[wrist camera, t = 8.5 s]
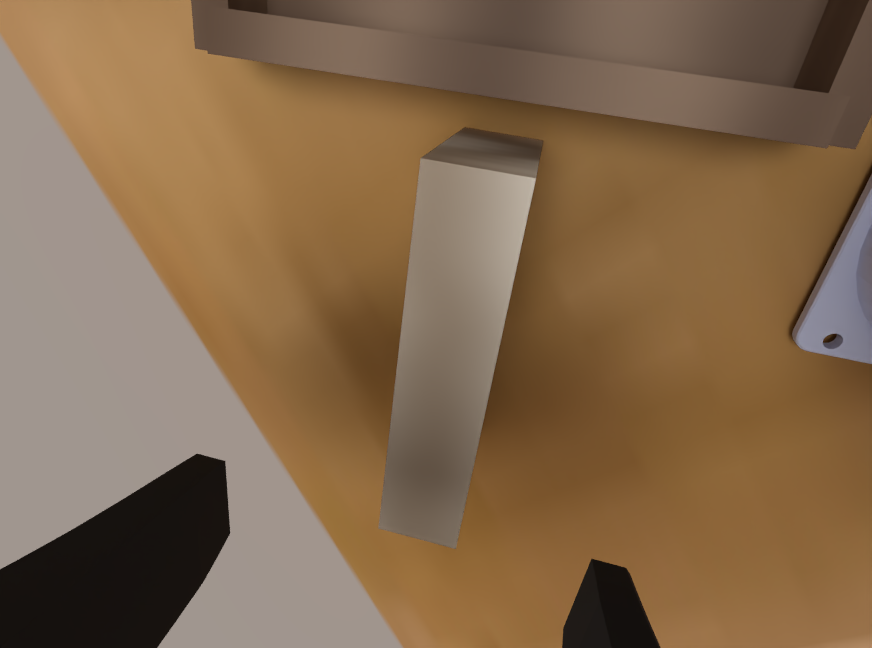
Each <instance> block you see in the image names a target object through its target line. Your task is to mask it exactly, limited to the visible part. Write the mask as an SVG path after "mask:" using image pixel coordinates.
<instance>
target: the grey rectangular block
mask: <svg viewBox="0 0 872 648" xmlns="http://www.w3.org/2000/svg"><path fill="white" fill-rule="evenodd" d="M542 144H543V140H538V139H532V138H526V137H520V136H514V135H508V134H502V133H496V132H490V131H484V130H478V129H472V128H466V127H465V128H463V129H462V130H460V131H459V132H457V133H456V134H455V135H453V136H452V137H450V138H449V139H447V140H446V141H445V142H443V143H442V144H440V145H439V146H437V147H436V148H435V149H433V150H432V151H430V152H429V153H427V154H426V155H425V156H423V157H422V158H421V160H420V169H419V178H418V187H417V195H416V204H415V213H414V222H413V230H412V239H411V248H410V257H409V266H408V274H407V283H406V292H405V301H404V309H403V318H402V327H401V336H400V345H399V353H398V362H397V371H396V380H395V389H394V397H393V406H392V415H391V424H390V432H389V441H388V450H387V459H386V468H385V476H384V485H383V494H382V503H381V511H380V520H379V529H383V530H387V531H390V532H394V533H398V534H402V535H406V536H409V537H413V538H417V539H421V540H424V541H428V542H432V543H436V544H439V545H443V546H447V547H451V548H454V549H456V545H457V540H458V536H459V531H460V526H461V522H462V517H463V513H464V508H465V503H466V499H467V494H468V490H469V485H470V480H471V476H472V471H473V467H474V462H475V457H476V453H477V448H478V443H479V439H480V434H481V430H482V425H483V420H484V416H485V411H486V407H487V402H488V397H489V393H490V388H491V384H492V379H493V374H494V370H495V365H496V361H497V356H498V351H499V347H500V342H501V337H502V333H503V328H504V324H505V319H506V314H507V310H508V305H509V301H510V296H511V291H512V287H513V282H514V278H515V273H516V268H517V264H518V259H519V255H520V250H521V245H522V241H523V236H524V231H525V227H526V222H527V218H528V213H529V208H530V204H531V199H532V195H533V190H534V185H535V181H536V176H537V171H538V165H539V160H540V155H541V149H542Z"/></svg>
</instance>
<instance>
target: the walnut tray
mask: <svg viewBox="0 0 872 648" xmlns="http://www.w3.org/2000/svg"><path fill="white" fill-rule="evenodd" d="M191 3H192V16H193V28H194V41H195V49H201V50H207V51H208V54H214V55H221V56H227V57H234V58H240V59H247V60H253V61H260V62H266V63H273V64H280V65H286V66H293V67H299V68H306V69H312V70H319V71H325V72H332V73H338V74H345V75H351V76H358V77H364V78H371V79H377V80H384V81H390V82H397V83H404V84H410V85H417V86H423V87H430V88H436V89H443V90H449V91H456V92H462V93H469V94H475V95H482V96H488V97H495V98H501V99H508V100H514V101H521V102H528V103H534V104H541V105H547V106H554V107H560V108H567V109H573V110H580V111H586V112H593V113H599V114H606V115H612V116H619V117H625V118H632V119H638V120H645V121H651V122H658V123H665V124H671V125H678V126H684V127H691V128H697V129H704V130H710V131H717V132H723V133H730V134H736V135H743V136H749V137H756V138H762V139H769V140H775V141H782V142H789V143H795V144H802V145H808V146H815V147H821V148H828V145H831V146H837V147H844V148H850V149H856V147H857V145H858V142H859V140H860V138H861V136H862V134H863V132H864V130H865V128H866V126H867V124H868V122H869V120H870V117H871V115H872V0H191Z"/></svg>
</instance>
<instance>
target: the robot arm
mask: <svg viewBox="0 0 872 648" xmlns="http://www.w3.org/2000/svg"><path fill="white" fill-rule="evenodd" d="M830 334H837V336H836V338H835V339H834V340H833V341H831V342H829V343H823V339H824V338H825V337H826V336H828V335H830ZM792 337H793V340H794V342H795V343H796V344H797V345H798V346H799V347H800V348H801V349H803V350H805V351H809V352H814V353H819V354H824V355H829V356H834V357H839V358H844V359H849V360H854V361H859V362H864V363H869V364H872V175H871V177H870V178H869V180H868V182H867V184H866V186H865V188H864V190H863V192H862V194H861V196H860V198H859V200H858V202H857V204H856V206H855V208H854V210H853V212H852V214H851V216H850V218H849V220H848V222H847V224H846V226H845V228H844V230H843V232H842V234H841V236H840V238H839V240H838V242H837V244H836V246H835V248H834V250H833V252H832V254H831V256H830V258H829V260H828V262H827V264H826V266H825V268H824V270H823V272H822V274H821V276H820V278H819V280H818V282H817V284H816V286H815V288H814V290H813V291H812V293H811V295H810V297H809V299H808V301H807V303H806V305H805V307H804V309H803V311H802V313H801V315H800V317H799V319H798V321H797V323H796V325H795V327H794V329H793V333H792ZM229 534H230V525H229V510H228V497H227V481H226V467H225V461H223V460H218V459H215V458H211V457H208V456H204V455H200V454H196V455H194V456H192V457H191V458H189V459H187V460H186V461H184V462H182V463H181V464H179V465H178V466H176V467H174V468H173V469H171V470H169V471H168V472H166V473H165V474H163V475H161V476H160V477H158V478H157V479H155V480H153V481H152V482H150V483H148V484H147V485H145V486H144V487H142V488H140V489H139V490H137V491H136V492H134V493H132V494H131V495H129V496H128V497H126V498H124V499H123V500H121V501H119V502H118V503H116V504H114V505H113V506H111V507H109V508H108V509H106V510H104V511H103V512H101V513H99V514H98V515H96V516H94V517H93V518H91V519H89V520H88V521H86V522H84V523H83V524H81V525H79V526H78V527H76V528H74V529H72V530H71V531H69V532H67V533H65V534H64V535H62V536H60V537H58V538H56V539H55V540H53V541H51V542H50V543H48V544H46V545H44V546H42V547H40V548H39V549H37V550H35V551H33V552H31V553H30V554H28V555H26V556H24V557H22V558H21V559H19V560H17V561H15V562H13V563H11V564H9V565H8V566H6V567H4V568H2V569H0V648H157V647H158V646H159V644H160V643H161V641H162V640H163V639H164V637H165V636H166V634H167V633H168V632H169V630H170V629H171V627H172V626H173V625H174V623H175V622H176V620H177V619H178V617H179V616H180V615H181V613H182V612H183V610H184V609H185V607H186V606H187V605H188V603H189V602H190V600H191V599H192V598H193V596H194V595H195V593H196V592H197V590H198V589H199V587H200V586H201V584H202V583H203V581H204V580H205V578H206V576H207V574H208V573H209V571H210V569H211V567H212V565H213V564H214V562H215V560H216V558H217V557H218V554H219V553H220V551H221V549H222V547H223V545H224V543H225V542H226V540H227V538H228V536H229ZM562 648H660V646H659V643H658V641H657V639H656V636H655V634H654V632H653V630H652V627H651V625H650V622H649V620H648V618H647V615H646V613H645V610H644V608H643V606H642V603H641V601H640V598H639V596H638V593H637V591H636V588H635V586H634V583H633V581H632V578H631V575H630V573H629V572H628V570H627V569H626V568H624V567H621V566H617V565H613V564H609V563H606V562H602V561H598V560H594V559H591V562H590V564H589V567H588V569H587V571H586V574H585V576H584V579H583V581H582V584H581V586H580V589H579V591H578V594H577V596H576V598H575V601H574V603H573V606H572V608H571V611H570V613H569V616H568V618H567V621H566V623H565V625H564V629H563V645H562Z"/></svg>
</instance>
